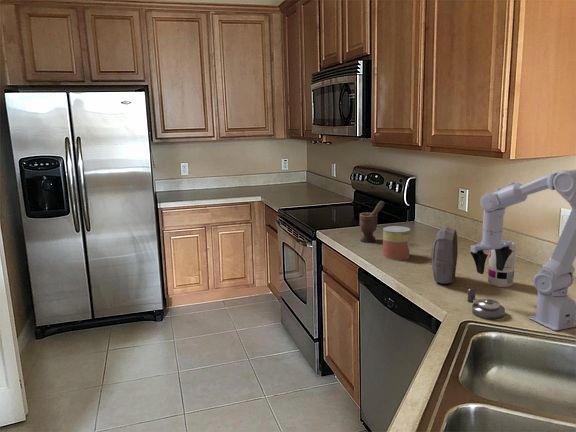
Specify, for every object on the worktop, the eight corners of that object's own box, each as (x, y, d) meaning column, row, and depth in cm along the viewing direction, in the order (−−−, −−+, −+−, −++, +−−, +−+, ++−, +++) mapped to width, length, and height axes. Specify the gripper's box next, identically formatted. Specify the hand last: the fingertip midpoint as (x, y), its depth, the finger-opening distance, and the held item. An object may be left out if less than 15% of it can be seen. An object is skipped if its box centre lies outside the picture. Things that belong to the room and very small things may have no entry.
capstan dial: (503, 306, 141) (504, 293, 140) (493, 312, 137) (494, 299, 137) (472, 297, 148) (473, 285, 148) (462, 303, 145) (463, 290, 144)
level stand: (511, 316, 139) (511, 310, 139) (486, 321, 136) (486, 315, 136) (489, 306, 148) (489, 299, 147) (465, 310, 145) (465, 303, 144)
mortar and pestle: (382, 238, 232) (383, 198, 228) (384, 243, 224) (385, 201, 220) (359, 238, 233) (359, 198, 229) (360, 243, 225) (360, 201, 221)
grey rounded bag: (451, 288, 163) (453, 232, 159) (426, 285, 167) (428, 230, 163) (457, 275, 176) (459, 223, 172) (434, 272, 180) (436, 221, 176)
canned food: (410, 260, 196) (410, 232, 194) (382, 259, 198) (382, 231, 196) (409, 252, 207) (409, 226, 205) (382, 252, 209) (383, 225, 207)
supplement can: (483, 284, 167) (486, 243, 164) (493, 278, 172) (496, 238, 169) (507, 289, 161) (510, 247, 158) (516, 283, 167) (519, 242, 163)
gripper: (501, 225, 154) (499, 265, 157) (464, 229, 150) (462, 270, 152) (518, 229, 148) (515, 271, 150) (480, 234, 143) (478, 277, 146)
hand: (489, 271), depth 151 cm, fingers open, 7 cm apart
